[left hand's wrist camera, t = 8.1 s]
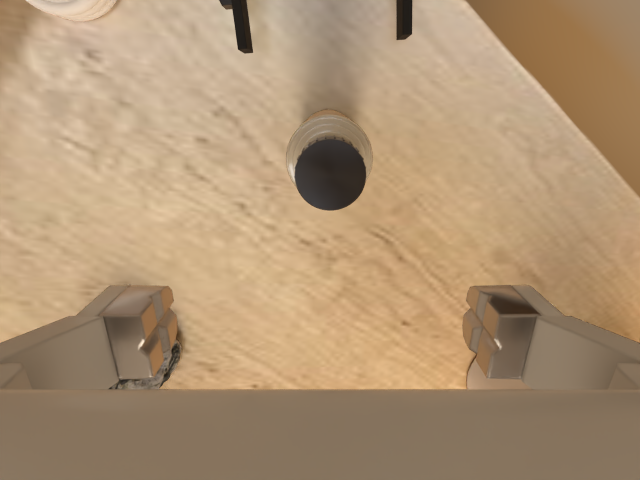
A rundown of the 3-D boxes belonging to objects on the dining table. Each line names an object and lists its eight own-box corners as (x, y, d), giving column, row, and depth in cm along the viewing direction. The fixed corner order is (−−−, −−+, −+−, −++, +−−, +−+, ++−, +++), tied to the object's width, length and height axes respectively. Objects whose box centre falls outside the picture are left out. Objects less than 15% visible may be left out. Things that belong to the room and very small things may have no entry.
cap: (285, 185, 22) (282, 193, 20) (313, 122, 21) (311, 124, 19) (345, 212, 23) (347, 222, 21) (375, 152, 21) (380, 157, 19)
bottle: (292, 151, 41) (260, 200, 21) (314, 99, 39) (302, 97, 19) (340, 173, 42) (354, 241, 22) (364, 124, 40) (404, 147, 20)
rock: (136, 298, 48) (104, 330, 41) (198, 344, 50) (178, 383, 43) (78, 362, 52) (40, 401, 45) (138, 402, 54) (110, 445, 48)
